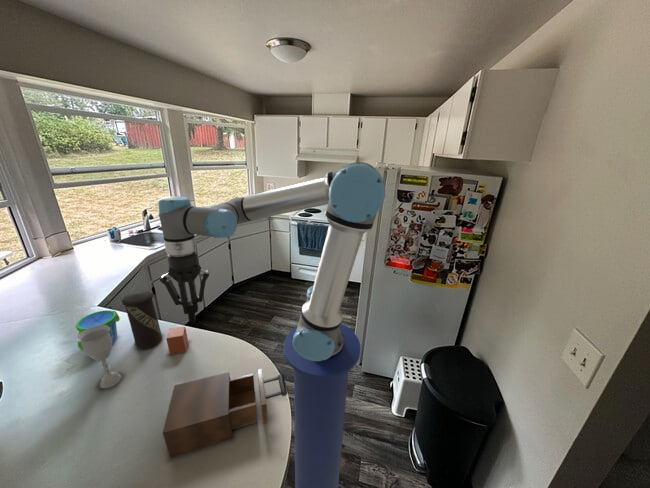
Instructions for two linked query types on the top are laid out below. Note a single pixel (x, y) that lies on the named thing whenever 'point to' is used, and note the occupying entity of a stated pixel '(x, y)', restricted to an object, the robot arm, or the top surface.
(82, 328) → the snack cup
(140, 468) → the top surface
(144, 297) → the container
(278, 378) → the drawer
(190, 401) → the cabinet
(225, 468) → the top surface
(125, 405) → the top surface
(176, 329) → the block
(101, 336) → the chalice
